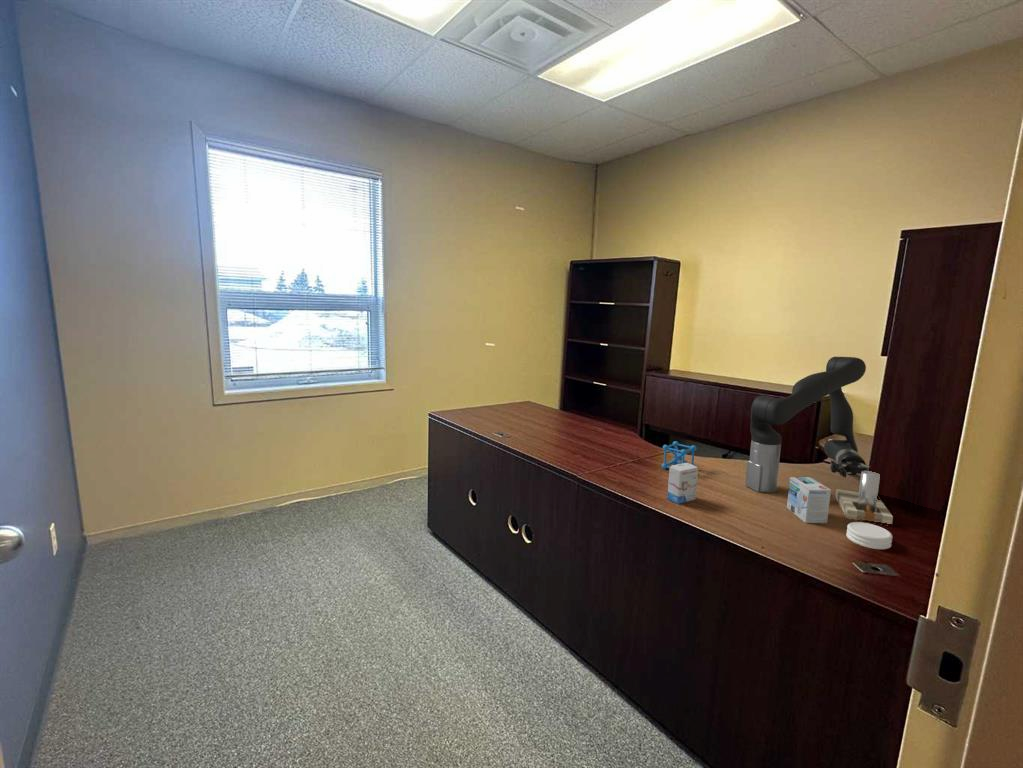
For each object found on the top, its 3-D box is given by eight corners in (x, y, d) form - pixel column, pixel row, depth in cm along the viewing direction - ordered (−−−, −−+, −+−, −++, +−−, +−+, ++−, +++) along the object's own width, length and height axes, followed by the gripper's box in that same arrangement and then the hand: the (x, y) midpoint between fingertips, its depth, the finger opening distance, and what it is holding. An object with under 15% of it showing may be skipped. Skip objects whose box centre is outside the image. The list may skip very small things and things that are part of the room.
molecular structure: (683, 475, 178) (685, 450, 177) (660, 468, 186) (661, 444, 184) (696, 469, 185) (697, 445, 183) (673, 463, 192) (674, 440, 191)
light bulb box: (785, 508, 150) (789, 476, 148) (807, 508, 149) (810, 476, 148) (805, 523, 139) (809, 489, 137) (828, 523, 139) (832, 489, 137)
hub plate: (891, 526, 137) (893, 516, 137) (846, 518, 142) (847, 509, 141) (875, 503, 153) (876, 494, 153) (835, 497, 158) (836, 488, 157)
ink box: (678, 504, 152) (680, 470, 150) (666, 499, 156) (668, 465, 154) (696, 499, 156) (698, 466, 154) (684, 494, 160) (686, 461, 158)
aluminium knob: (877, 522, 140) (883, 478, 137) (858, 519, 141) (864, 475, 139) (872, 514, 145) (878, 472, 142) (854, 511, 147) (859, 469, 144)
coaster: (871, 532, 134) (872, 521, 133) (900, 550, 124) (902, 538, 124) (837, 532, 134) (838, 521, 133) (864, 550, 124) (866, 538, 123)
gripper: (827, 449, 168) (836, 462, 153) (875, 454, 162) (889, 468, 147) (825, 468, 169) (833, 483, 155) (873, 474, 163) (886, 491, 148)
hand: (860, 476), depth 151 cm, fingers open, 8 cm apart
